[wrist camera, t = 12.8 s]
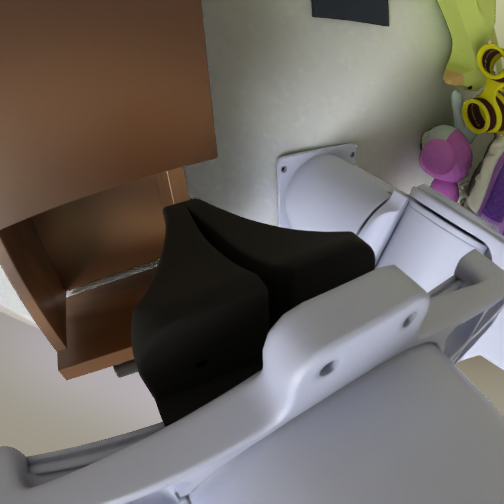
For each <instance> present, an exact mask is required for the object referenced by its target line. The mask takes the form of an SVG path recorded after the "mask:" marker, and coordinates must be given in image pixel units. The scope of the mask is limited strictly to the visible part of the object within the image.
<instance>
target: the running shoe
mask: <svg viewBox="0 0 504 504" xmlns="http://www.w3.org/2000/svg"><path fill="white" fill-rule="evenodd" d="M466 193H467V195H466V198H465V201H464V203H463V207H464V208H466V209H467V210H469V211H471V212H472V213H474V214H475V215H477V216H478V217H480V218H481V219H483V220H484V221H486V222H487V223H489V224H490V225H491V226H492V228H493V229H494V230H496V231H497V232H499V233H500V234H502V235H503V236H504V135H503V136H501V135H499V136H496V137H495V138H494V139H493V140H492V141H491V143H490V144H489V146H488V147H487V150H486V152H485V154H484V157H483V160H482V161H481V162H480V164H479V165H478V167H477V168H476V170H475V172H474V174H473V176H472V178H471V180H470V182H469V185H468V188H467V191H466Z"/></svg>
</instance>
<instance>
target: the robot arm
mask: <svg viewBox="0 0 504 504" xmlns="http://www.w3.org/2000/svg"><path fill="white" fill-rule="evenodd" d="M356 150H357V147H356V145H355V144H353V143H348V144H342V145H337V146H331V147H326V148H320V149H315V150H310V151H305V152H300V153H295V154H290V155H285V156H281V157H279V158H278V159H277V161H276V171H277V200H278V227H277V226H272V225H268V224H264V223H260V222H256V221H252V220H249V219H246V218H243V217H240V216H237V215H235V214H232V213H230V212H227V211H225V210H222V209H220V208H218V207H215V206H213V205H211V204H209V203H206V202H204V201H202V200H199V199H197V198H194V199H191V200H187V201H184V202H180V203H177V204H173V205H170V206H167V207H164V209H163V210H162V211H163V216H164V220H165V225H166V227H165V239H164V246H163V251H162V255H161V258H160V262H159V265H158V267H157V270H156V273H155V275H154V277H153V280H152V281H151V283H150V285H149V287H148V289H147V291H146V293H145V294H144V296H143V297H142V299H141V300H140V301H139V303H138V304H137V305H136V307H135V308H134V309H133V313H132V324H131V341H132V350H133V356H134V359H135V362H136V366H137V369H138V372H139V374H140V376H141V378H142V380H143V381H144V383H145V384H146V386H147V388H148V389H149V391H150V392H151V394H152V396H153V397H154V398H155V401H156V404H157V407H158V409H159V412H160V415H161V418H162V420H163V422H161V423H158V424H155V425H152V426H148V427H145V428H142V429H139V430H136V431H133V432H129V433H126V434H122V435H119V436H115V437H112V438H108V439H104V440H101V441H97V442H93V443H89V444H85V445H81V446H77V447H72V448H68V449H64V450H59V451H54V452H49V453H45V454H39V455H34V456H28V457H26V456H25V455H24V454H22V453H21V452H20V451H18V450H17V449H15V448H12V447H6V446H3V447H0V504H504V416H503V415H502V414H501V413H500V412H499V411H498V409H497V408H496V407H495V406H494V405H493V404H492V403H491V402H490V401H489V400H488V399H487V398H486V397H485V396H484V394H483V393H482V392H481V391H480V390H479V389H478V388H477V387H476V386H475V385H474V384H473V383H472V382H471V381H470V380H469V379H468V378H467V377H466V376H465V375H464V374H463V373H462V372H461V371H460V369H458V368H457V366H455V364H456V363H457V362H459V361H462V360H465V359H467V358H470V357H474V356H478V355H481V356H483V357H484V358H486V359H488V360H489V361H490V362H492V363H494V364H495V365H497V366H498V367H500V368H501V369H503V370H504V236H503V235H502V234H500V233H499V232H497V231H496V230H494V229H493V228H492V226H491V225H490V224H489V223H487V222H486V221H484V220H483V219H481V218H480V217H478V216H477V215H475V214H474V213H472V212H471V211H469V210H467V209H466V208H464V207H463V206H461V205H459V204H458V203H456V202H454V201H453V200H451V199H449V198H448V197H446V196H444V195H443V194H441V193H439V192H437V191H436V190H434V189H432V188H430V187H429V186H427V185H425V184H422V185H419V186H418V187H415V186H414V187H412V189H411V192H410V195H411V196H410V195H408V194H405V193H403V192H402V191H400V190H398V189H396V188H395V187H393V186H391V185H390V184H388V183H386V182H384V181H382V180H381V179H379V178H377V177H375V176H374V175H372V174H370V173H368V172H366V171H364V170H363V169H361V168H359V167H357V166H355V165H356ZM351 153H352V154H351ZM350 154H351V156H350ZM282 167H285V168H284V170H283V171H281V169H282Z"/></svg>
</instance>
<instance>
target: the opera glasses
mask: <svg viewBox="0 0 504 504" xmlns="http://www.w3.org/2000/svg"><path fill="white" fill-rule="evenodd" d="M502 56H503V57H504V49H502V48H500V47H499V46H497V45H495V44H487V45H484V46H483V47H481V49H480V50H479V51H478V55H477V63H478V66H479V68H480V70H481V72H482V73H483V74H484V75H485V76H486V80H487V81H486V86H485V89H484V90H483V91H482V92H481V93H480V94H479V95H477V96H476V97H474V98H473V99H469V100H467V101H465V102H464V104H463V107H462V116H463V119H464V122H465V124H466V126H467V127H468V128H469V129H470V130H471V131H472V132H474V133H477V134H481V133H484V132H487V133H494V132H495V133H497V134H500V135H503V134H504V97H503V96H502V95H501V94H500V93H499V92H497V91H498V90H500V91H501V92H503V93H504V69H503V71H502V72H501V73H500V74H497V75H494V72H493V69H494V64H495V62H496V61H497V60H498V59H499V58H500V57H502Z"/></svg>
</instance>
